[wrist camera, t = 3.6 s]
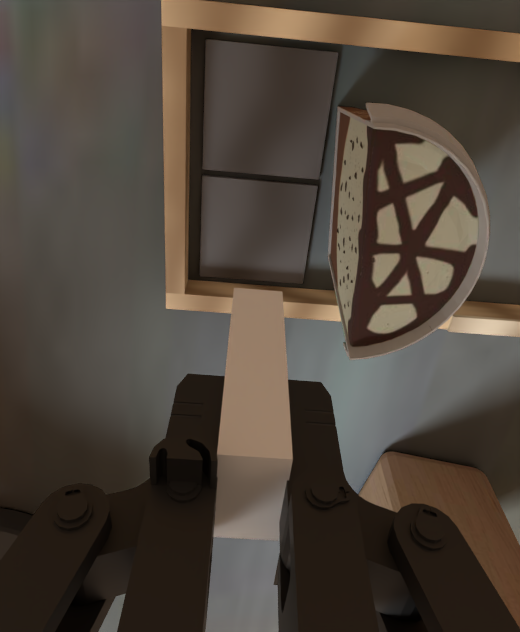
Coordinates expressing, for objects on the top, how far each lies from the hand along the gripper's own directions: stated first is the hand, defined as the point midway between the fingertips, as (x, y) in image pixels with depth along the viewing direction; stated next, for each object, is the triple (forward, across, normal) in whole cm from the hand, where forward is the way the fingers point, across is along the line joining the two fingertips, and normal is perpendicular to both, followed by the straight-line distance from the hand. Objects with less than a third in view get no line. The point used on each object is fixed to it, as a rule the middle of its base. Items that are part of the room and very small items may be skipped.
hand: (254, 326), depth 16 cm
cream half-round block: (+17, +8, 0) cm, 19 cm away
